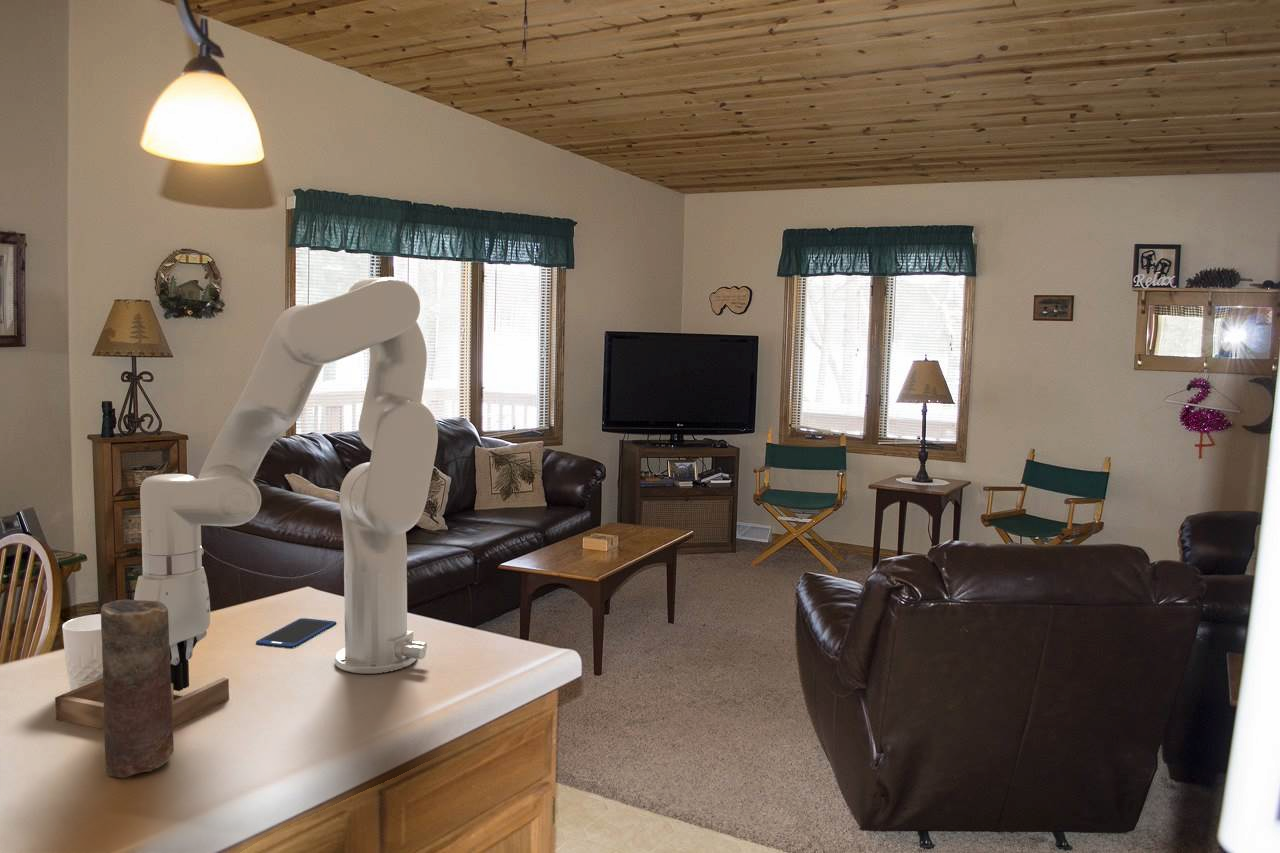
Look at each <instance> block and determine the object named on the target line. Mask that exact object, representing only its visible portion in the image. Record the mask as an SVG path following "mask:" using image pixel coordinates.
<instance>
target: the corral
mask: <svg viewBox="0 0 1280 853" xmlns="http://www.w3.org/2000/svg"><path fill="white" fill-rule="evenodd" d="M229 681H230V680H229V678H227V677H221V678H219V679H217V680H215V681H213V682H210V683H208V684H206V685H203V686H201V687H199V688H197V689H196V690H193V691H191V692H189V693H187V694H185V695H182V696H180V697H177V698H176V699H174V700H173V701H172V712H173V728H174V727H175V726H177V725H180V724H181V723H184V722H185V721H187V720H190V719H191V718H194V717H196V716H197V715H200V714H201V713H204V712H206V711H208V710H210V709H212V708H214V707H216V706H218V705H220V704H222V703H224V702H227V701H228V700H229V699H230V683H229ZM54 702H55V719H56V720H58V719H59V721H64V722H69V723H72V724H73V723H74V724H77V725H84V726H88V727H90V728H91V727H92V728H97V729H102V730H104V701H103V678H102V679H100V680H97V681H95V682H92V683H90V684H87V685H85V686H82V687H80V688H77V689H75V690H72V691H70V690H69V691H67V692H66V693H65V692H64V693H62V694H61V695H57V696H55V697H54Z"/></svg>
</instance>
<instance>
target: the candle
mask: <svg viewBox="0 0 1280 853" xmlns="http://www.w3.org/2000/svg"><path fill="white" fill-rule="evenodd" d="M100 614H101V634H102V665H103V701H104V702H103V703H104V729H103V730H104V735H103V737H104V758H105V759H104V761H105V774H106V775H107V776H110V777H112V778H113V777H117V778H129V777H131V776H133V775H137V774H141V773H145V772H146V773H147V772H148V773H151V772H152V771H154V770H156V769H159V768H160V767H162V766H163V764H165V763H167V762H168V761H169V760H170V758H171V756H172V755H173V754H174V751H175V749H174V748H175V747H174V740H175V739H174V727H173V712H172V695H171V672H170V649H169V620H168V608H167V607H166V606H165V604H164V603H161V602H160V601H147V600H134V599H118V600H115V601H114V600H113V601H110V602H107V603H103V604H102V606H101V608H100Z"/></svg>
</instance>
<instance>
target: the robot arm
mask: <svg viewBox="0 0 1280 853" xmlns="http://www.w3.org/2000/svg"><path fill="white" fill-rule="evenodd" d="M420 310H421V301H420V297H419V295H418V293H417V291H416V290H415V288H414V287H413V286H412V285H411V284H410V283H409V282H408V281H405V280H404V279H401V278H397V277H393V276H388V277H387V276H384V277H381V276H380V277H369V278H365V279H362V280H358V282H356V283H354V284H353V285H352V286H351V287H350V288H349V290H348V291H347V292H345V293H343V294H340V295H337V296H334V297H332V298H329V299H326V300H321V301H319V302H316V303H312V304H298V305H294V306H291V307H288V308H287V309H286V310H284V311H283V312H282V313H281V315H279V317H278V319H277V320H276V322H275V324H273V328H272V330H271V332H270V334H269V336H268V338H267V340H266V342H265V345H264V347H263V349H262V351H261V354H260V356H259V357H258V360H257V362H256V364H255V366H254V369H253V371H252V373H251V374H250V377H249V378H248V381H247V383H246V385H245V387H244V389H243V391H242V393H241V395H240V396H239V398H238V399H237V400H238V401H237V402H236V403H235V405H234V407H233V409H232V410H231V413H230V414H229V416H228V417H227V419H226V420H225V422H224V423H223V426H222V428H221V429H220V431H219V433H218V434H217V436H216V438H215V440H214V442H213V444H212V446H211V448H210V450H209V453H208V455H207V457H206V459H205V461H204V463H203V466H202V468H201V470H200V471H199V474H198V477H195V476H193V475H190V474H186V473H185V474H184V473H164V474H163V473H162V474H156V475H152V476H149V477H146V478H144V480H142V482H141V485H140V487H139V489H140V491H139V494H140V496H139V499H140V500H139V501H140V502H139V504H140V523H141V524H140V528H141V556H142V558H141V559H142V564H141V565H142V575H139V576H138V577H137V581H136V585H135V592H134V597H133V600H147V601H160V602H161V603H164V604H165V606H166V607H167V608H168V620H169V649H170V672H171V683H172V684H173V691H176V692H181V691H182V690H184V689H187V688H189V687H190V671H189V669H190V667H189V666H190V665H189V663H190V662H189V660H191V659H192V657H193V652H194V648H195V646H196V644H197V643H198V642H200V641H201V640H203V639H204V638H206V636H207V634H208V633H207V630H208V629H209V628H210V623H211V601H210V590H209V586H208V578H207V574H206V572H205V567H204V566H202V565H203V561H202V556H203V555H204V553H205V550H204V548H203V547H202V526H213V527H236V526H240V525H244V524H246V523H248V522H250V521H251V520H252V519H253V518H255V517H256V516H257V514H258V512H259V511H260V509H261V505H262V495H261V491H260V490H259V487H258V485H257V484H256V483H255V482H254V479H255V476H256V474H257V472H258V470H259V469H260V466H261V464H262V462H263V460H264V458H265V456H266V454H267V453H268V451H269V450H270V448H271V447H272V445H273V443H274V442H275V441H276V440H277V439H278V438H279V437H280V436H281V435H282V434H284V433H285V432H286V431H288V430H289V429H291V427H293V425H294V424H295V423H297V421H298V420H299V418H300V416H301V415H302V413H303V411H304V408H305V405H306V404H307V402H308V400H309V398H310V397H309V396H310V395H311V392H312V390H313V388H314V387H315V384H316V381H317V380H318V378H319V374H320V373H321V371H322V368H323V367H324V365H326V364H329V363H333V362H336V361H339V360H342V359H344V358H347V357H348V358H349V357H350V356H353V355H355V354H358V353H360V352H363V351H365V350H367V349H369V353H370V358H369V359H370V360H369V369H368V378H367V383H366V387H365V388H366V389H365V393H364V398H363V401H362V402H363V403H362V406H361V413H360V416H359V420H358V435H359V438H360V440H361V442H362V443H363V445H364V446H365V447H366V448H368V449H369V450H370V451H371V452H370V453H371V454H370V459H369V462H368V461H367V462H364V463H360V464H358V465H356V466H355V467H353V468H351V469H350V470H349V471H348V473H347V474H346V476H345V477H344V479H343V480H342V482H341V486H340V490H339V510H340V517H341V518H340V519H341V525H342V526H341V527H342V536H343V560H344V561H343V563H344V564H343V565H344V566H343V579H344V580H343V582H344V584H343V585H344V586H343V587H344V591H343V592H344V599H343V600H344V647H343V648H341V649H340V650H338V651H337V652H336V654H335V655H334V664H335V666H336V667H337V668H339V669H341V670H342V671H345V672H349V673H355V674H363V675H364V674H365V675H366V674H381V673H383V672H384V673H388V672H389V671H390V672H394V670H395V671H398V669H399V670H401V669H404V667H405V668H406V667H409V666H411V665H412V664H414V663H415V662H416V661H417V660H424V658H425V657H426V655H427V649H428V644H427V643H426V642H424V641H423V642H422V641H415V640H414V631H413V630H408V582H407V581H408V577H407V576H408V573H407V572H408V568H407V567H408V566H407V565H408V552H407V551H408V547H407V546H408V544H407V534H406V533H407V532H408V531H410V530H411V529H412V528H413V527H415V525H417V523H418V522H419V520H420V518H422V515H423V513H424V510H425V507H426V504H427V500H428V496H429V490H430V487H431V480H432V476H433V472H434V471H433V470H434V465H435V461H436V456H437V449H438V443H439V431H438V425H437V421H436V419H435V417H434V416H435V415H434V414H433V413H432V411H431V410H430V409H429V408H428V406H426V405H424V403H422V400H423V399H422V398H423V394H424V387H425V377H426V371H427V364H428V363H427V361H428V358H427V356H428V355H427V346H426V342H425V337H424V334H423V332H422V330H421V328H420V326H419V323H418V321H417V320H418V319H419V316H420ZM390 672H389V673H390ZM384 673H383V674H384Z"/></svg>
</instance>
